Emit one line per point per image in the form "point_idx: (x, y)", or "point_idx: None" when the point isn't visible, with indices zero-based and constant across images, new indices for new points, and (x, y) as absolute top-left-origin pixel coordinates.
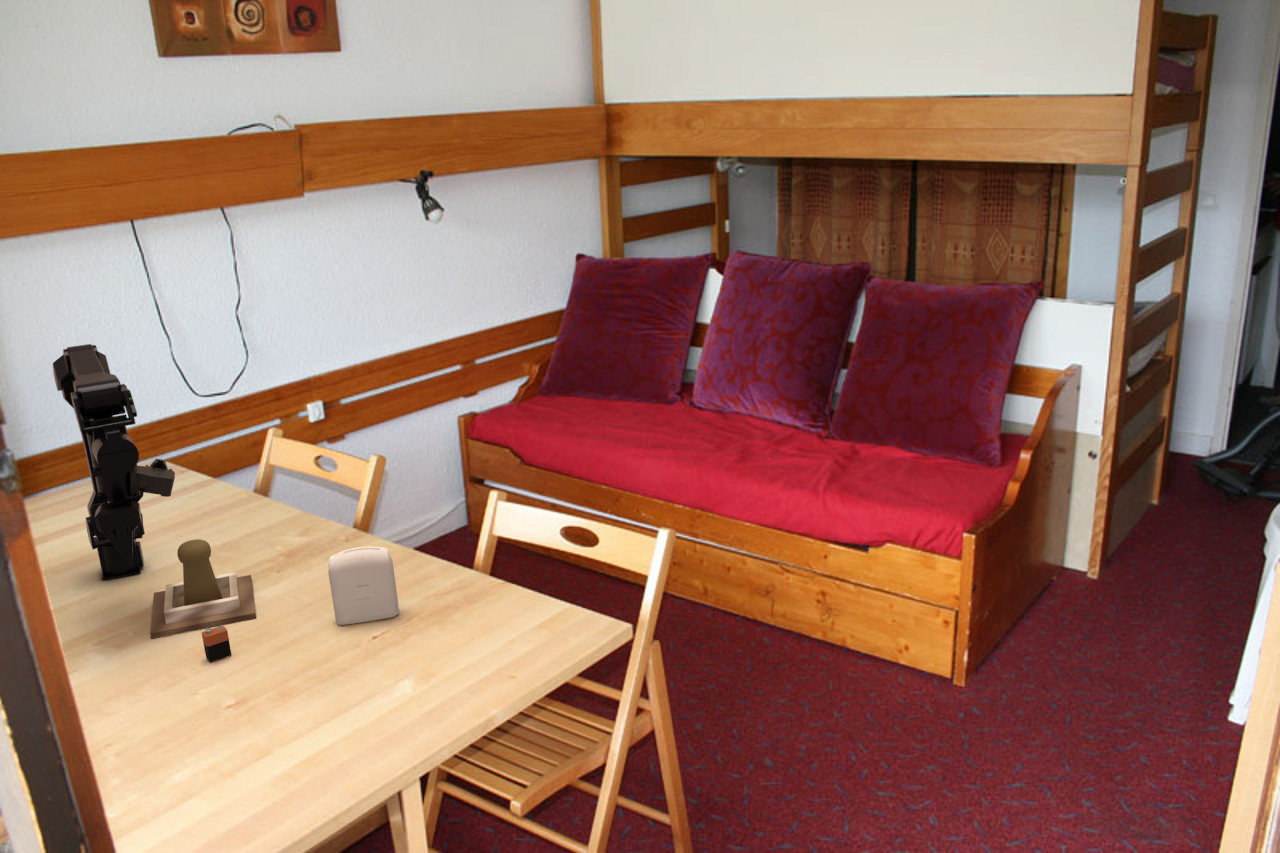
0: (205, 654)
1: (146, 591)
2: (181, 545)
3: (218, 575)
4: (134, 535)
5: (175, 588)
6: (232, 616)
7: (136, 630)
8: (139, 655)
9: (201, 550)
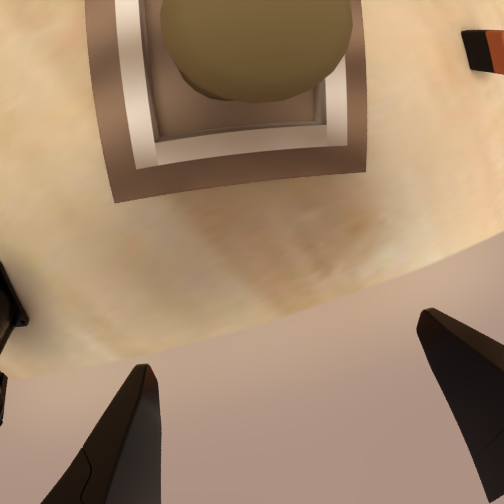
0: (477, 70)
1: (77, 226)
2: (268, 72)
3: (117, 14)
4: (144, 368)
5: (155, 136)
6: None
7: (299, 205)
8: (414, 184)
9: None
